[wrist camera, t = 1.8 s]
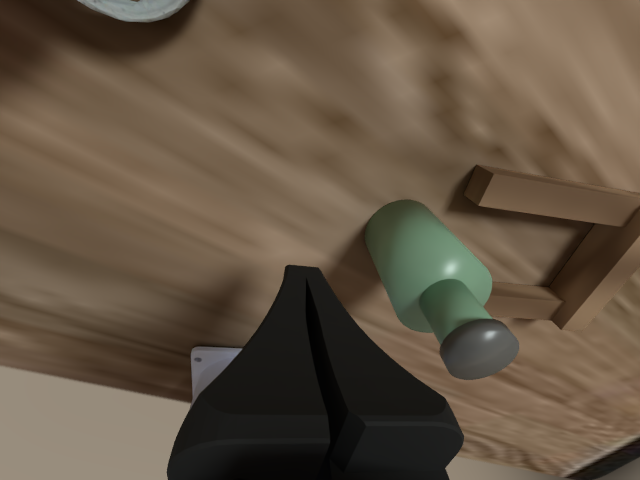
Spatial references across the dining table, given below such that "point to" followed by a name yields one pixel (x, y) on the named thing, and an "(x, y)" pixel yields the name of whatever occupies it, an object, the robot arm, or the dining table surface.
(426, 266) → the bottle
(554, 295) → the cradle
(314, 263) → the dining table surface
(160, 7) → the ceramic mug
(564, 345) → the dining table surface
